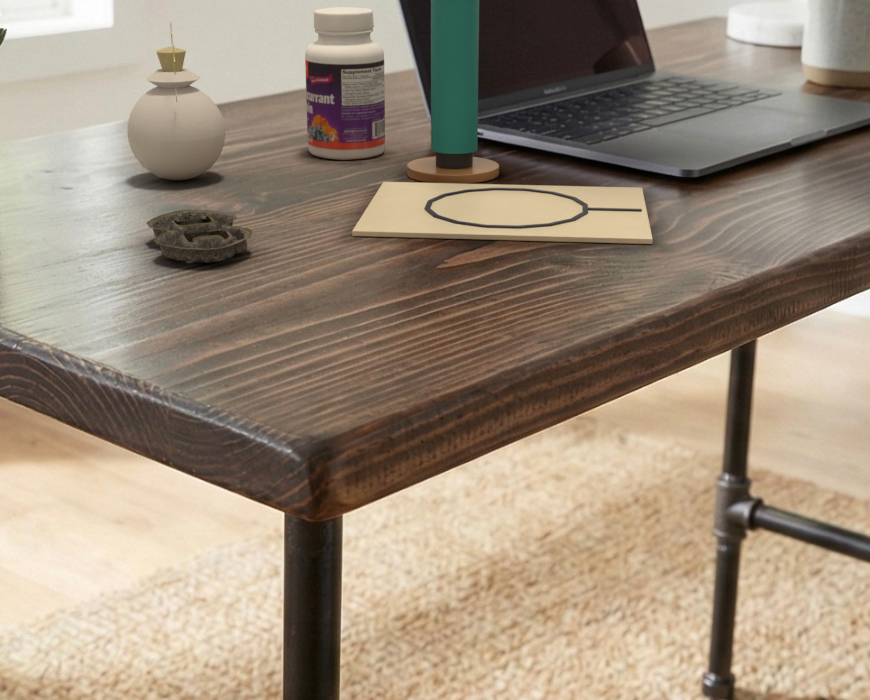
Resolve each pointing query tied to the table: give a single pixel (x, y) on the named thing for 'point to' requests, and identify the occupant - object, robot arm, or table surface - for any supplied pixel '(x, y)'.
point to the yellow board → (507, 213)
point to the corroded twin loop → (199, 235)
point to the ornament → (175, 122)
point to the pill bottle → (345, 86)
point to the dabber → (454, 81)
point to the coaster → (452, 171)
